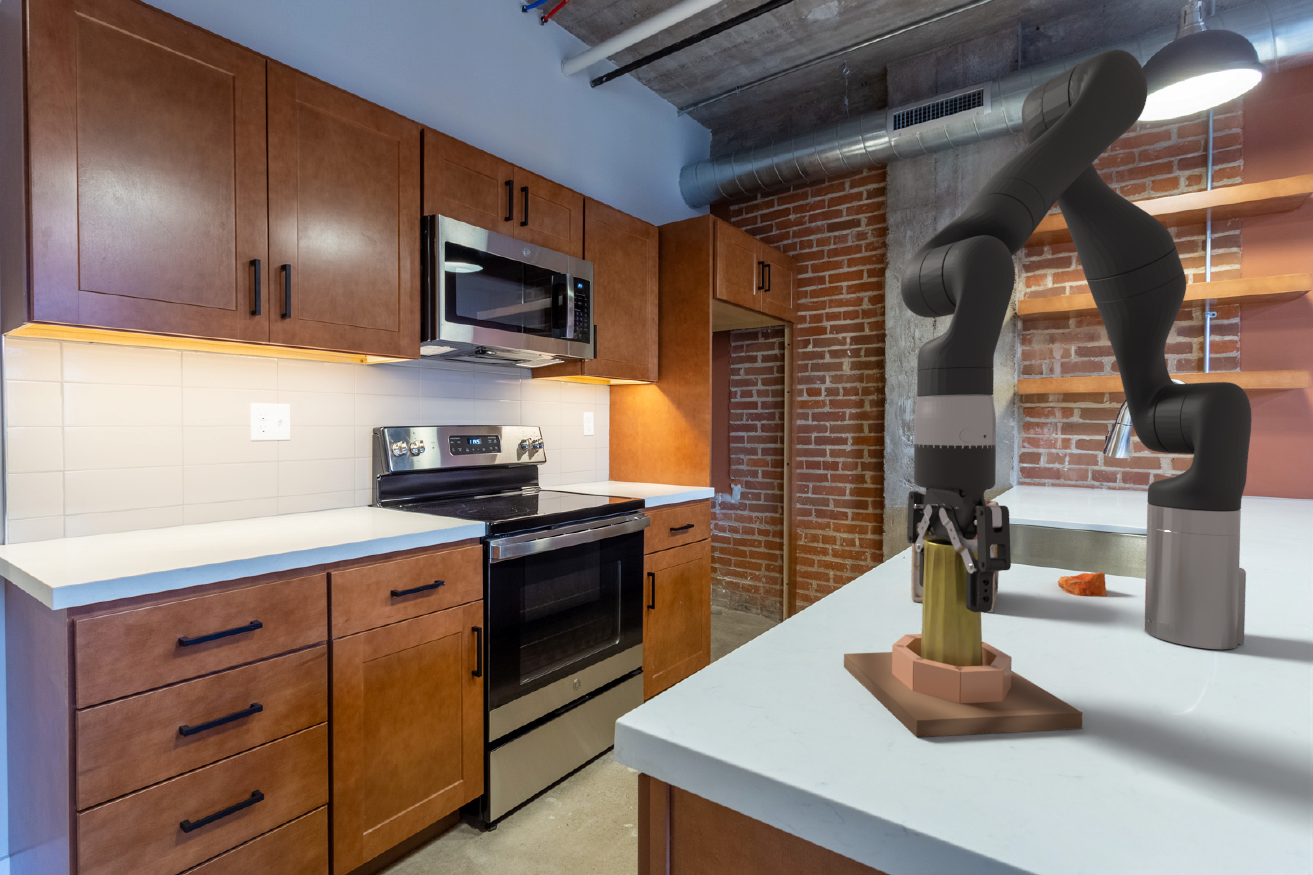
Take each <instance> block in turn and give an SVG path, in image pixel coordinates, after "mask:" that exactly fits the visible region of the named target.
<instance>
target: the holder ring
mask: <svg viewBox="0 0 1313 875" xmlns="http://www.w3.org/2000/svg"><path fill="white" fill-rule="evenodd" d="M921 635H922V633H919V634H918V633H915V634H913V633H912V634H909V633H907V634H903V636H902V637H900V638H899V639H898V640H897V641H896V642H894V643H893V644H892V651H891V652H892V674H893V675H894V676H896V677H897V678H898V679H899V680H900V681H902V682H903V683H904V684H905V685H906V686H908V687H909V688H910V689H911V690H912V691H915V692H919V693H923V694H927V695H930V696H934V697H938V698H942V699H945V700H949V701H953V702H957V703H980V702H1002V701H1003V700H1004V698H1005V697H1006V695H1007V693H1008V691H1009V690H1010V688H1011V670H1012V662H1013V660H1012V656H1011V655H1010V654H1009V655H1008V654H1007V653H1005V652H1003V651H1002V650H1000V649H998V648H996V647H995V646H993V645H991V644H989V643H987V642H986V641H982V655H983V666H966V667H957V666H953V665H948V664H944V663H940V662H935V661H931V660H927V659H922V658H921Z"/></svg>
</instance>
